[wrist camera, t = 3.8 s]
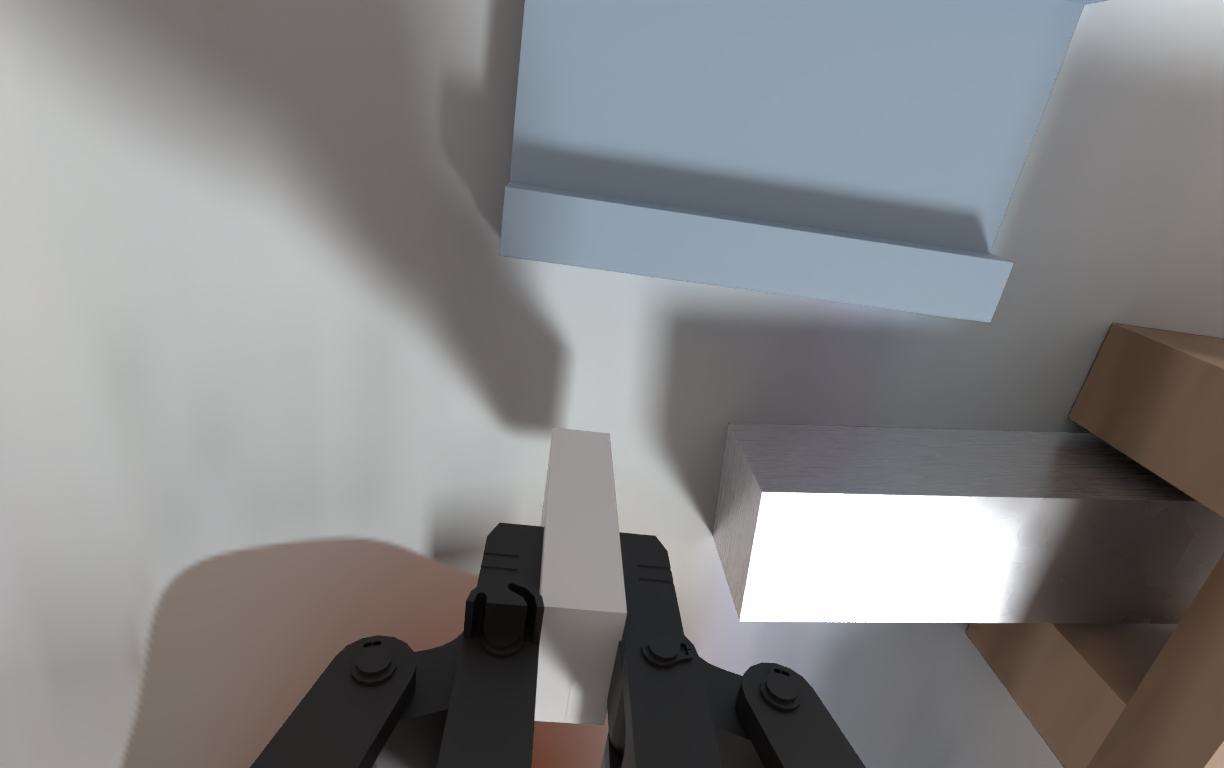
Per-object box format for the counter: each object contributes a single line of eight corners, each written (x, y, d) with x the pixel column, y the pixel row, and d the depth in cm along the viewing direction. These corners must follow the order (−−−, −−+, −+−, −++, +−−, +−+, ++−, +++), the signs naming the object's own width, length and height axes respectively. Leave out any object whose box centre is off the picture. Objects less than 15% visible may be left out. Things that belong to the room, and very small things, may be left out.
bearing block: (965, 633, 23) (1133, 862, 16) (1112, 323, 18) (1433, 456, 11) (1119, 645, 23) (1345, 871, 17) (1298, 349, 19) (1708, 490, 12)
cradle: (506, 247, 17) (498, 266, 15) (546, -195, 13) (541, -243, 11) (944, 308, 18) (986, 332, 16) (1086, -79, 14) (1160, -105, 13)
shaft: (710, 530, 21) (739, 621, 17) (726, 418, 19) (762, 492, 16) (1150, 537, 22) (1265, 624, 18) (1198, 432, 20) (1335, 504, 17)
